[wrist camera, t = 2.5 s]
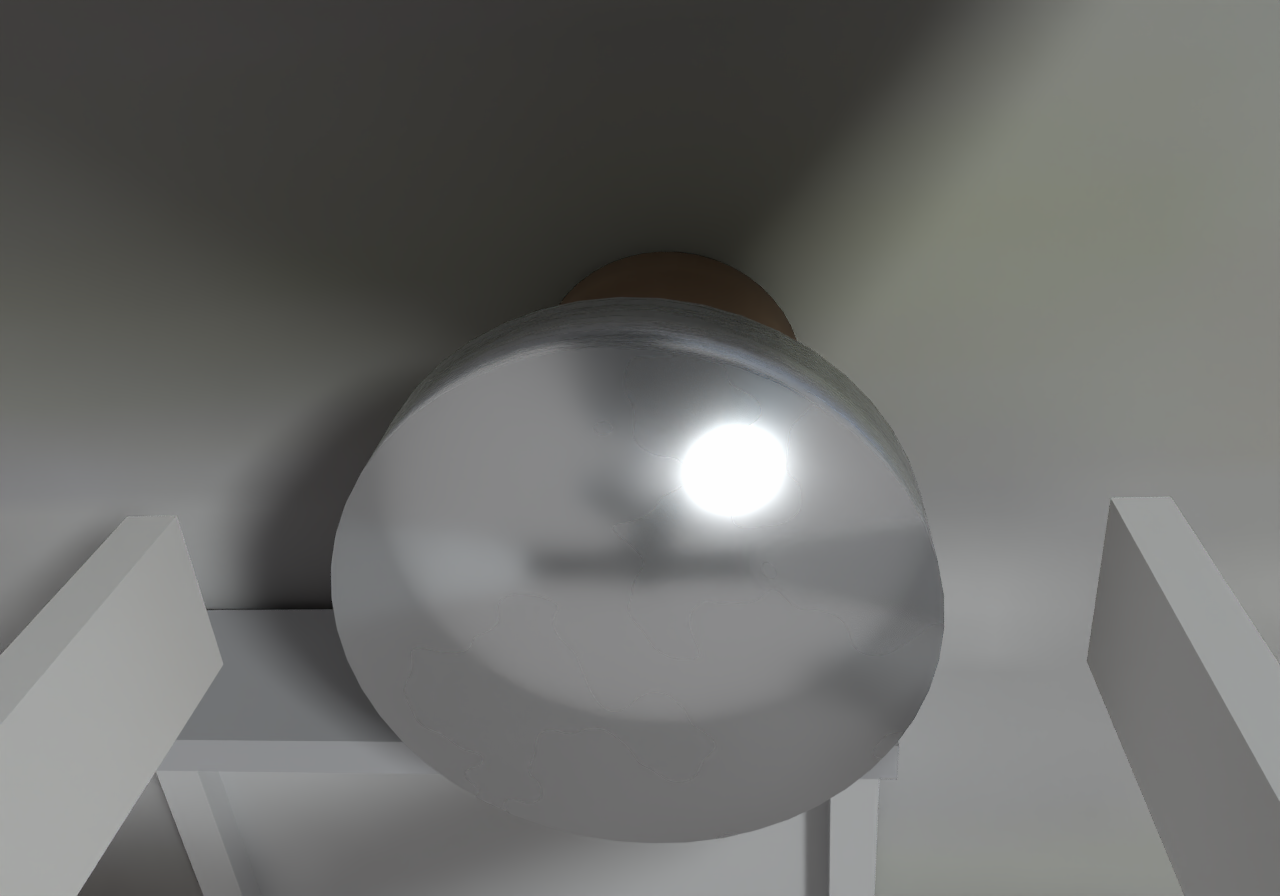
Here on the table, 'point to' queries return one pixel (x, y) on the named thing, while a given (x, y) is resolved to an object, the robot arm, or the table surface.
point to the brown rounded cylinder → (683, 285)
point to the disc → (640, 573)
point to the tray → (429, 801)
